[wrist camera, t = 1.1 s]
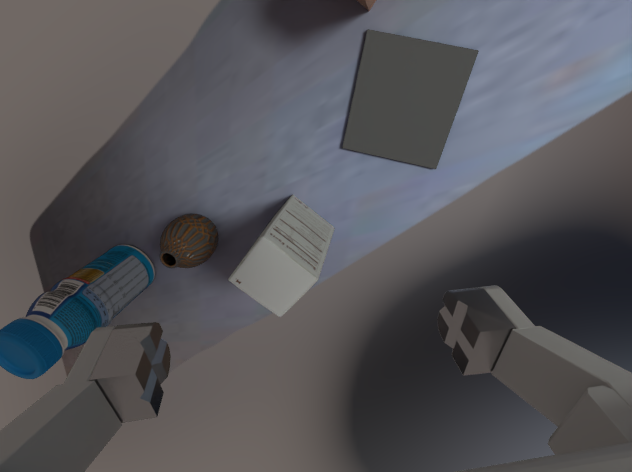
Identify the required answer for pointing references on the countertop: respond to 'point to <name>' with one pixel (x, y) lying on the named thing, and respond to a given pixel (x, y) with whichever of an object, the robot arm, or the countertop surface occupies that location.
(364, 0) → the open square container
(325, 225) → the supplement box
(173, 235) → the vase
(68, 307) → the beverage bottle
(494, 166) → the countertop surface
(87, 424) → the robot arm
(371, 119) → the mat
